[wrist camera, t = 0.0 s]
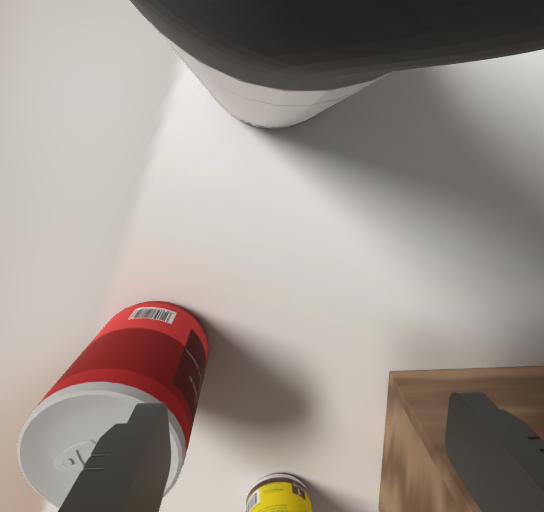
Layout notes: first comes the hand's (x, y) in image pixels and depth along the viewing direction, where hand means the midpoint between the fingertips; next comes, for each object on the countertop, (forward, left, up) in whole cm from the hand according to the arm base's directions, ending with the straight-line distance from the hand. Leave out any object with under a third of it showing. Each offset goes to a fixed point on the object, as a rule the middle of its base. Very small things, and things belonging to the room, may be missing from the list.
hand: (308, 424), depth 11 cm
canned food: (+7, -9, -17) cm, 21 cm away
